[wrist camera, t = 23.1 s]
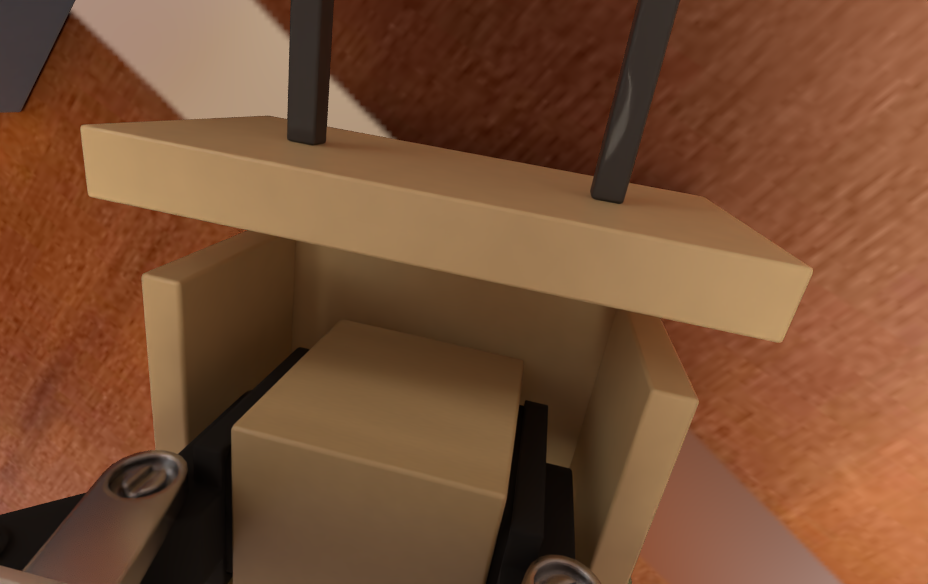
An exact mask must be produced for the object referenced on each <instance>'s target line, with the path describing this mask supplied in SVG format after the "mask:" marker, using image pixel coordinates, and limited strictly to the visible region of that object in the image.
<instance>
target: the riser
mask: <svg viewBox="0 0 928 584" xmlns="http://www.w3.org/2000/svg"><path fill="white" fill-rule="evenodd" d="M74 2H75V0H0V112H20V111H21V110H22V108H23V106H24V104H25V102H26V100H27V98H28V96H29V94H30V91H31V89H32V87H33V85H34V83H35V81H36V79H37V77H38V75H39V73H40V71H41V69H42V67H43V65H44V63H45V61H46V59H47V57H48V55H49V53H50V51H51V49H52V47H53V45H54V43H55V41H56V38H57V36H58V34H59V32H60V30H61V28H62V26H63V24H64V22H65V20H66V18H67V16H68V14H69V12H70V10H71V8H72V6H73V4H74Z"/></svg>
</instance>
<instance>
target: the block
mask: <svg viewBox="0 0 928 584" xmlns="http://www.w3.org/2000/svg"><path fill="white" fill-rule="evenodd" d="M524 365H525V363H524V361H523V360H521V359H517V358H512V357H508V356H503V355H499V354H495V353H490V352H486V351H481V350H477V349H473V348H468V347H464V346H459V345H455V344H451V343H446V342H442V341H437V340H433V339H429V338H424V337H420V336H415V335H411V334H407V333H402V332H398V331H393V330H389V329H384V328H380V327H376V326H371V325H367V324H362V323H358V322H354V321H349V320H345V319H341V320H340V321H339V322H338V323H337V324H336V325H335V326H334V327H333V328H332V329H330V330H329V331H328V332H327V333H326V334H325V335H324V336H323V337H322V338H321V339H320V340H319V341H318V342H317V343H316V344H315V345H314V346H313V347H312V348H311V349H310V350H309V351H308V352H307V353H306V354H305V355H304V356H303V357H302V358H301V359H300V360H299V361H298V362H297V363H296V364H295V365H294V366H293V367H292V368H291V369H290V370H289V371H288V372H287V373H286V374H285V375H284V376H283V377H282V378H281V379H280V380H279V381H278V382H277V383H276V384H275V385H274V386H273V387H272V388H271V389H270V390H269V391H267V392H266V393H265V394H264V395H263V396H262V397H261V398H260V399H259V400H258V401H257V402H256V403H255V404H254V405H253V406H252V407H251V408H250V409H249V410H248V411H247V412H246V413H245V414H244V415H243V416H242V417H241V418H240V419H239V420H238V421H237V422H236V423H235V424H234V425H233V427H232V429H231V458H232V558H233V584H486V581H487V577H488V573H489V569H490V565H491V561H492V557H493V553H494V549H495V544H496V540H497V536H498V532H499V528H500V524H501V520H502V516H503V512H504V508H505V504H506V500H507V494H508V486H509V478H510V471H511V463H512V456H513V448H514V441H515V433H516V426H517V418H518V411H519V403H520V395H521V388H522V380H523V373H524Z"/></svg>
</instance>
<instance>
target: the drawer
mask: <svg viewBox="0 0 928 584" xmlns="http://www.w3.org/2000/svg"><path fill="white" fill-rule="evenodd" d="M679 2H680V0H638V2H637V6H636V10H635V14H634V18H633V22H632V26H631V30H630V34H629V38H628V42H627V46H626V50H625V54H624V58H623V62H622V66H621V70H620V74H619V78H618V82H617V86H616V90H615V94H614V98H613V102H612V106H611V110H610V114H609V118H608V122H607V125H606V129H605V133H604V137H603V141H602V145H601V149H600V153H599V157H598V161H597V165H596V169H595V173H594V176H590V175H584V174H579V173H574V172H568V171H563V170H558V169H552V168H547V167H541V166H536V165H531V164H525V163H520V162H515V161H509V160H504V159H498V158H493V157H488V156H482V155H477V154H472V153H466V152H461V151H455V150H450V149H445V148H439V147H434V146H429V145H423V144H418V143H412V142H407V141H402V140H396V139H391V138H386V137H380V136H375V135H369V134H364V133H358V132H353V131H348V130H343V129H337V128H332V127H327V115H328V113H327V112H328V96H329V80H330V62H331V44H332V26H333V8H334V0H291V13H290V48H289V85H288V118H287V119H284V118H278V117H273V116H254V117H234V118H233V117H232V118H212V119H191V120H170V121H149V122H129V123H108V124H87V125H82V126H81V128H80V130H81V139H82V147H83V156H84V164H85V173H86V182H87V190H88V195H89V196H90V197H94V198H98V199H103V200H108V201H112V202H117V203H122V204H127V205H131V206H136V207H141V208H145V209H150V210H155V211H160V212H164V213H169V214H174V215H178V216H183V217H188V218H193V219H197V220H202V221H207V222H211V223H216V224H221V225H226V226H230V227H235V228H240V229H245V230H248V231H245V232H243V233H241V234H238V235H236V236H233V237H231V238H229V239H226V240H224V241H221V242H219V243H216V244H214V245H212V246H209V247H207V248H204V249H202V250H199V251H197V252H195V253H192V254H190V255H187V256H185V257H183V258H180V259H178V260H175V261H173V262H170V263H168V264H166V265H163V266H161V267H158V268H156V269H154V270H151V271H149V272H146V273H144V274H143V275H142V291H143V303H144V315H145V327H146V339H147V351H148V364H149V376H150V388H151V400H152V412H153V424H154V437H155V449H156V450H165V451H170V452H174V453H176V454H178V453H179V452H181V451H182V450H183V449H184V448H185V447H186V446H187V445H188V444H189V443H190V442H191V441H193V440H194V439H195V438H196V437H197V436H198V435H199V434H200V433H201V432H202V431H203V430H205V429H206V428H207V427H208V426H209V425H210V424H211V423H212V422H213V421H214V420H215V419H217V418H218V417H219V416H220V415H221V414H222V413H223V412H224V411H225V410H226V409H227V408H229V407H230V406H231V405H232V404H233V403H234V402H235V401H236V400H237V399H238V398H239V397H241V396H242V395H243V394H244V393H245V392H247V391H249V390H253V389H254V388H255V387H256V386H257V385H258V384H259V383H260V382H261V381H262V380H263V379H264V378H266V377H267V376H268V375H269V374H270V373H271V372H272V371H273V370H274V369H275V368H276V367H277V366H278V365H280V364H281V363H282V362H283V361H284V360H285V359H286V358H287V357H288V356H289V355H290V354H291V353H292V352H294V351H295V350H296V349H297V348H298V347H302V348H307V349H311V348H312V347H313V346H314V345H315V344H316V343H317V342H318V341H319V340H320V339H321V338H322V337H323V336H324V335H325V334H326V333H327V332H328V331H329V330H330V329H332V328H333V327H334V326H335V325H336V324H337V323H338V322H339V321H340V320H341V319H345V320H349V321H354V322H358V323H362V324H367V325H371V326H376V327H380V328H384V329H389V330H393V331H398V332H402V333H407V334H411V335H415V336H420V337H424V338H429V339H433V340H437V341H442V342H446V343H451V344H455V345H459V346H464V347H468V348H473V349H477V350H481V351H486V352H490V353H495V354H499V355H503V356H508V357H512V358H517V359H521V360H523V361H524V363H525V365H524V373H523V380H522V388H521V395H520V403H519V405H523V406H524V403H525V400H528V401H532V402H536V403H541V404H545V405H548V426H547V454H546V463H550V464H554V465H558V466H562V467H566V468H570V469H571V470H572V475H573V503H574V531H575V559H576V560H577V561H578V562H580V563H582V564H583V565H585V566H586V567H587V568H589V569H590V570H591V571H592V572H593V573H594V574H595V575H596V576H597V578H598V579H599V581H600V582H601V584H628V582H629V579H630V577H631V574H632V572H633V569H634V566H635V564H636V561H637V559H638V556H639V554H640V551H641V549H642V546H643V544H644V541H645V538H646V536H647V533H648V531H649V528H650V526H651V523H652V521H653V518H654V515H655V513H656V510H657V508H658V505H659V503H660V500H661V498H662V495H663V492H664V490H665V487H666V485H667V482H668V480H669V477H670V475H671V472H672V470H673V467H674V464H675V462H676V459H677V457H678V454H679V452H680V449H681V447H682V444H683V442H684V439H685V437H686V434H687V431H688V429H689V426H690V424H691V421H692V419H693V416H694V414H695V411H696V408H697V406H698V403H699V400H698V397H697V395H696V393H695V391H694V389H693V387H692V384H691V382H690V380H689V378H688V376H687V374H686V372H685V369H684V367H683V365H682V363H681V361H680V359H679V357H678V354H677V352H676V350H675V348H674V346H673V344H672V342H671V339H670V337H669V335H668V333H667V331H666V329H665V327H664V324H663V322H662V320H661V318H664V319H669V320H674V321H678V322H683V323H688V324H692V325H697V326H702V327H707V328H711V329H716V330H721V331H725V332H730V333H735V334H740V335H744V336H749V337H754V338H758V339H763V340H768V341H773V342H778V343H779V342H782V341H783V339H784V337H785V335H786V332H787V330H788V328H789V326H790V323H791V321H792V319H793V316H794V314H795V312H796V310H797V307H798V305H799V303H800V301H801V298H802V296H803V294H804V292H805V289H806V287H807V285H808V283H809V280H810V278H811V276H812V273H813V269H812V268H811V267H809V266H808V265H806V264H805V263H803V262H802V261H800V260H799V259H797V258H796V257H794V256H793V255H791V254H790V253H788V252H787V251H785V250H784V249H782V248H781V247H779V246H778V245H776V244H775V243H773V242H772V241H770V240H769V239H767V238H766V237H764V236H762V235H761V234H759V233H758V232H756V231H755V230H753V229H752V228H750V227H749V226H747V225H746V224H744V223H743V222H741V221H740V220H738V219H737V218H735V217H734V216H732V215H731V214H729V213H728V212H726V211H725V210H723V209H722V208H720V207H719V206H717V205H715V204H714V203H712V202H711V201H709V200H708V199H706V198H705V197H703V196H697V195H692V194H686V193H681V192H676V191H670V190H665V189H660V188H654V187H649V186H643V185H638V184H633V183H629V181H630V178H631V174H632V171H633V167H634V163H635V160H636V156H637V153H638V149H639V145H640V142H641V138H642V135H643V131H644V127H645V124H646V120H647V117H648V113H649V110H650V106H651V102H652V99H653V95H654V92H655V88H656V84H657V81H658V77H659V74H660V70H661V66H662V63H663V59H664V56H665V52H666V49H667V45H668V41H669V38H670V34H671V31H672V27H673V23H674V20H675V16H676V13H677V9H678V5H679ZM228 584H233V577H232V578H231V580H230V581H229V583H228Z"/></svg>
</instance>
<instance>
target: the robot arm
mask: <svg viewBox="0 0 928 584" xmlns="http://www.w3.org/2000/svg"><path fill="white" fill-rule="evenodd" d="M309 350H310V349H307V348H302V347H298V348H297V349H296V350H295V351H294V352H292V353H291V354H290V355H289V356H288V357H287V358H286V359H285V360H284V361H283V362H282V363H281V364H280V365H278V366H277V367H276V368H275V369H274V370H273V371H272V372H271V373H270V374H269V375H268V376H267V377H266V378H264V379H263V380H262V381H261V382H260V383H259V384H258V385H257V386H256V387H255V388H254V389H253V390H249V391H247V392H245V393H244V394H243V395H242V396H241V397H239V398H238V399H237V400H236V401H235V402H234V403H233V404H232V405H231V406H230V407H229V408H227V409H226V410H225V411H224V412H223V413H222V414H221V415H220V416H219V417H218V418H217V419H215V420H214V421H213V422H212V423H211V424H210V425H209V426H208V427H207V428H206V429H205V430H203V431H202V432H201V433H200V434H199V435H198V436H197V437H196V438H195V439H194V440H193V441H191V442H190V443H189V444H188V445H187V446H186V447H185V448H184V449H183V450H182V451H181V452H179V453H178V454H176V453H174V452H170V451H165V450H149V451H144V452H139V453H135V454H133V455H130V456H127V457H124V458H122V459H121V460H119V461H117V462H116V463H114V464H112V465H111V466H110V467H109V468H108V469H107V470H106V471H105V472H103V474H102V475H101V476H100V477H99V478H98V480H97V481H96V482H95V483H94V485H93V486H92V487H91V488H90V489H89V491H88V492H87V493H83V494H79V495H75V496H72V497H68V498H64V499H60V500H56V501H52V502H48V503H44V504H41V505H37V506H33V507H29V508H25V509H21V510H17V511H13V512H10V513H6V514H2V515H0V584H228V583H229V581H230V580H231V578H232V577H233V558H232V458H231V429H232V427H233V425H234V424H235V423H236V422H237V421H238V420H239V419H240V418H241V417H242V416H243V415H244V414H245V413H246V412H247V411H248V410H249V409H250V408H251V407H252V406H253V405H254V404H255V403H256V402H257V401H258V400H259V399H260V398H261V397H262V396H263V395H264V394H265V393H266V392H267V391H269V390H270V389H271V388H272V387H273V386H274V385H275V384H276V383H277V382H278V381H279V380H280V379H281V378H282V377H283V376H284V375H285V374H286V373H287V372H288V371H289V370H290V369H291V368H292V367H293V366H294V365H295V364H296V363H297V362H298V361H299V360H300V359H301V358H302V357H303V356H304V355H305V354H306V353H307V352H308V351H309ZM547 426H548V405H545V404H541V403H536V402H532V401H528V400H525V403H524V406H523V405H519V411H518V418H517V426H516V433H515V441H514V448H513V456H512V463H511V471H510V478H509V486H508V494H507V500H506V504H505V508H504V512H503V516H502V520H501V524H500V528H499V532H498V536H497V540H496V544H495V549H494V553H493V557H492V561H491V565H490V569H489V573H488V577H487V581H486V584H601V582H600V581H599V579H598V578H597V576H596V575H595V574H594V573H593V572H592V571H591V570H590V569H589V568H587V567H586V566H585V565H583V564H582V563H580V562H578V561H577V560H576V559H575V531H574V503H573V475H572V470H571V469H570V468H566V467H562V466H558V465H554V464H550V463H546V454H547Z"/></svg>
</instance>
